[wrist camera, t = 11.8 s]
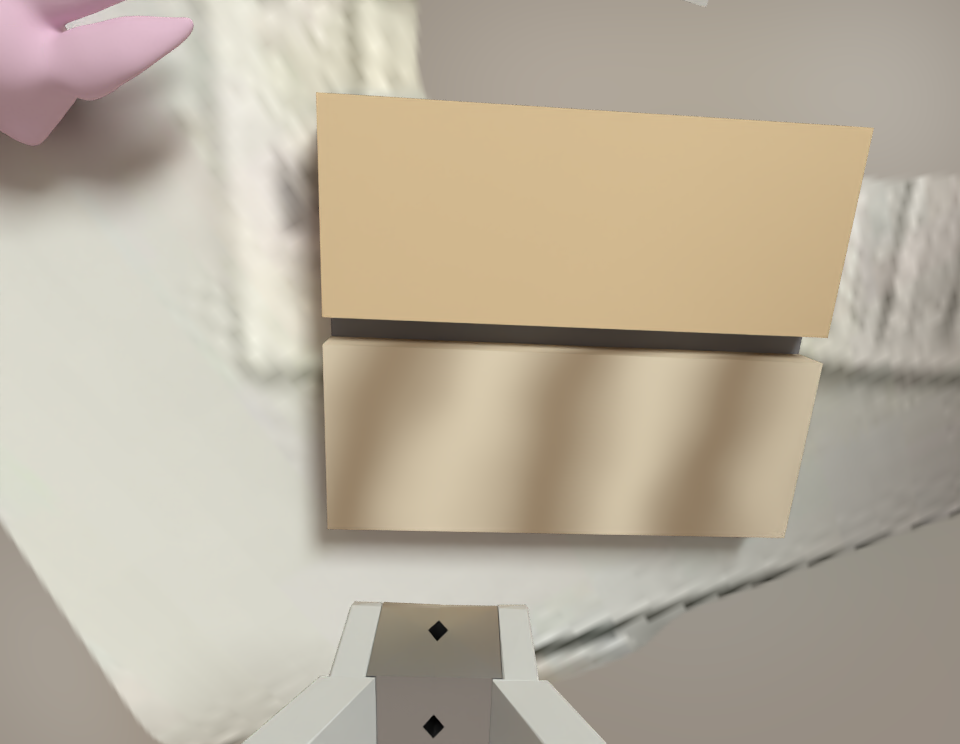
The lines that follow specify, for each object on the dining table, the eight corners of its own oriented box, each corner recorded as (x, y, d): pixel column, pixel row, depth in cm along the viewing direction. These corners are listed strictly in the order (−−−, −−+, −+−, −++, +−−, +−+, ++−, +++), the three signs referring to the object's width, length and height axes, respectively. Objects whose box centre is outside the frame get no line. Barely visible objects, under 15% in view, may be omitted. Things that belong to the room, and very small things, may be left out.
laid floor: (834, 128, 21) (875, 118, 19) (754, 525, 25) (780, 551, 23) (330, 96, 20) (315, 82, 18) (338, 517, 24) (328, 543, 22)
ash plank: (799, 354, 22) (822, 363, 21) (764, 519, 24) (784, 538, 23) (331, 336, 21) (322, 344, 20) (335, 509, 23) (327, 528, 22)
